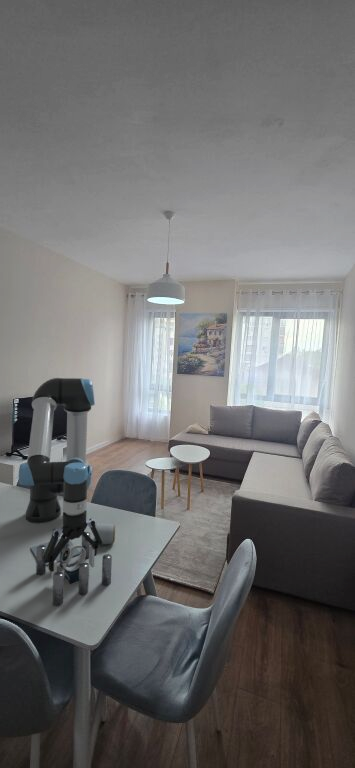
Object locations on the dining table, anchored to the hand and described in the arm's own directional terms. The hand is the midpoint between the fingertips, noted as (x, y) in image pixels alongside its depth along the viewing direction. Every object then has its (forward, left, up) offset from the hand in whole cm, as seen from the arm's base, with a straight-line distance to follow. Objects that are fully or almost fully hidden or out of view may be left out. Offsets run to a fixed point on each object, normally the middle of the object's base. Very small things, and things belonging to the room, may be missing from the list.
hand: (73, 572), depth 113 cm
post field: (0, 0, -2) cm, 2 cm away
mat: (-18, 0, -2) cm, 18 cm away
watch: (0, 0, -2) cm, 2 cm away
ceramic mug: (-15, +18, -2) cm, 24 cm away
